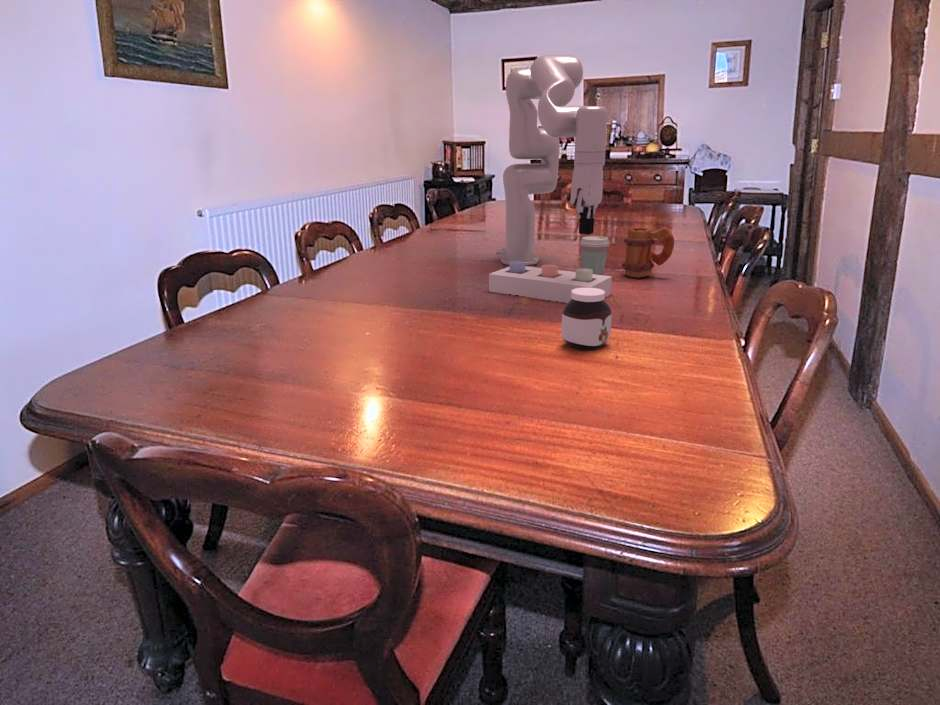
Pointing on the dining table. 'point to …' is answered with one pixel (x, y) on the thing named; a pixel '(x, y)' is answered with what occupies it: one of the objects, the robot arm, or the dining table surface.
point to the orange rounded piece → (549, 271)
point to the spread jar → (586, 319)
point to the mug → (646, 250)
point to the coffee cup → (594, 253)
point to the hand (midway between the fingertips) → (586, 233)
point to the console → (543, 284)
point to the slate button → (517, 267)
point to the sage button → (584, 275)
